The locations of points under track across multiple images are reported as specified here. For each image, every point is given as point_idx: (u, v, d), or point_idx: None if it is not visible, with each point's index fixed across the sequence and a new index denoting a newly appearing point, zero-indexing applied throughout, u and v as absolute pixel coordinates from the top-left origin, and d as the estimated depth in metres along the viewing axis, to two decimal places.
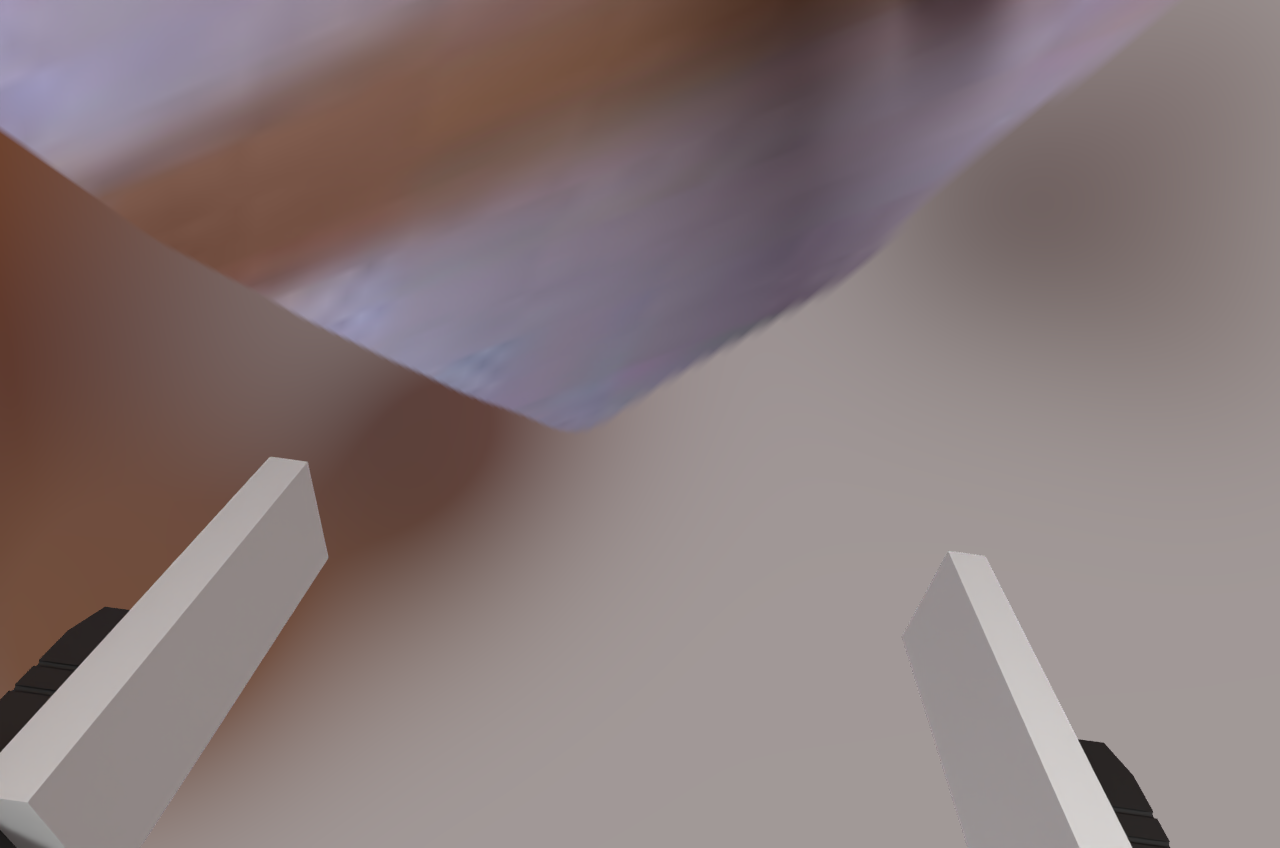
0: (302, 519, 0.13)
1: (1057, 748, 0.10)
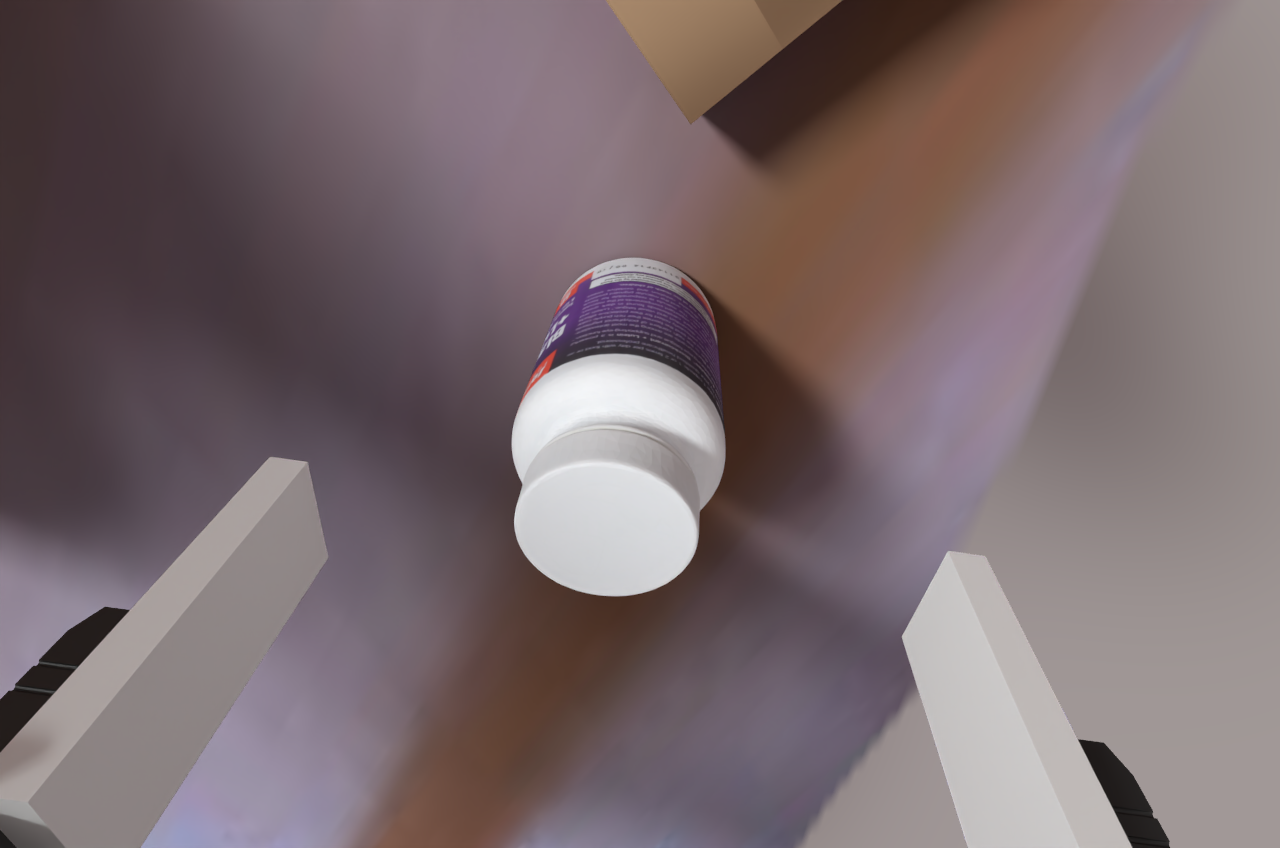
0: (302, 519, 0.13)
1: (1058, 748, 0.10)
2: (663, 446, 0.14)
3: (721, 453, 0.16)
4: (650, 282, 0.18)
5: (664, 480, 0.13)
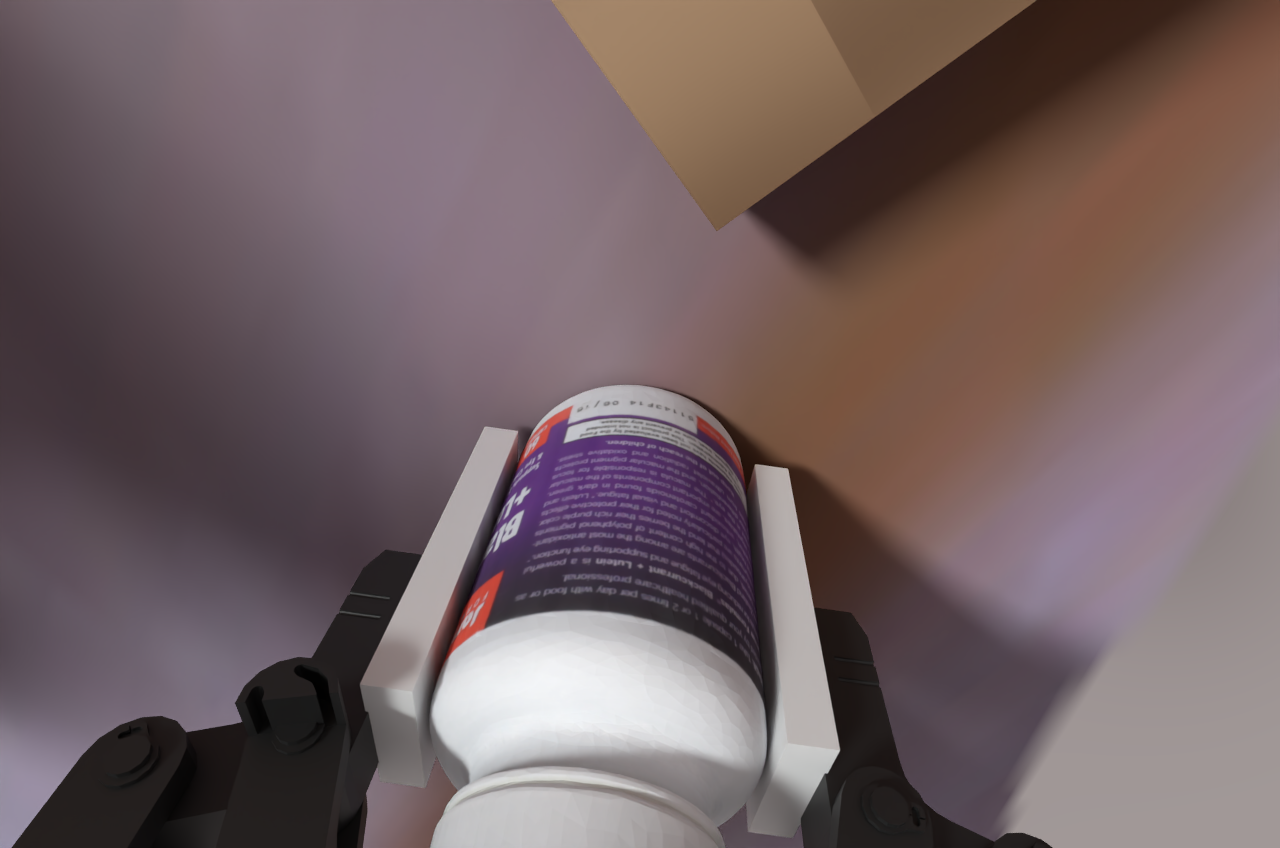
0: None
1: (791, 607, 0.11)
2: (668, 812, 0.08)
3: (761, 759, 0.10)
4: (652, 437, 0.13)
5: None
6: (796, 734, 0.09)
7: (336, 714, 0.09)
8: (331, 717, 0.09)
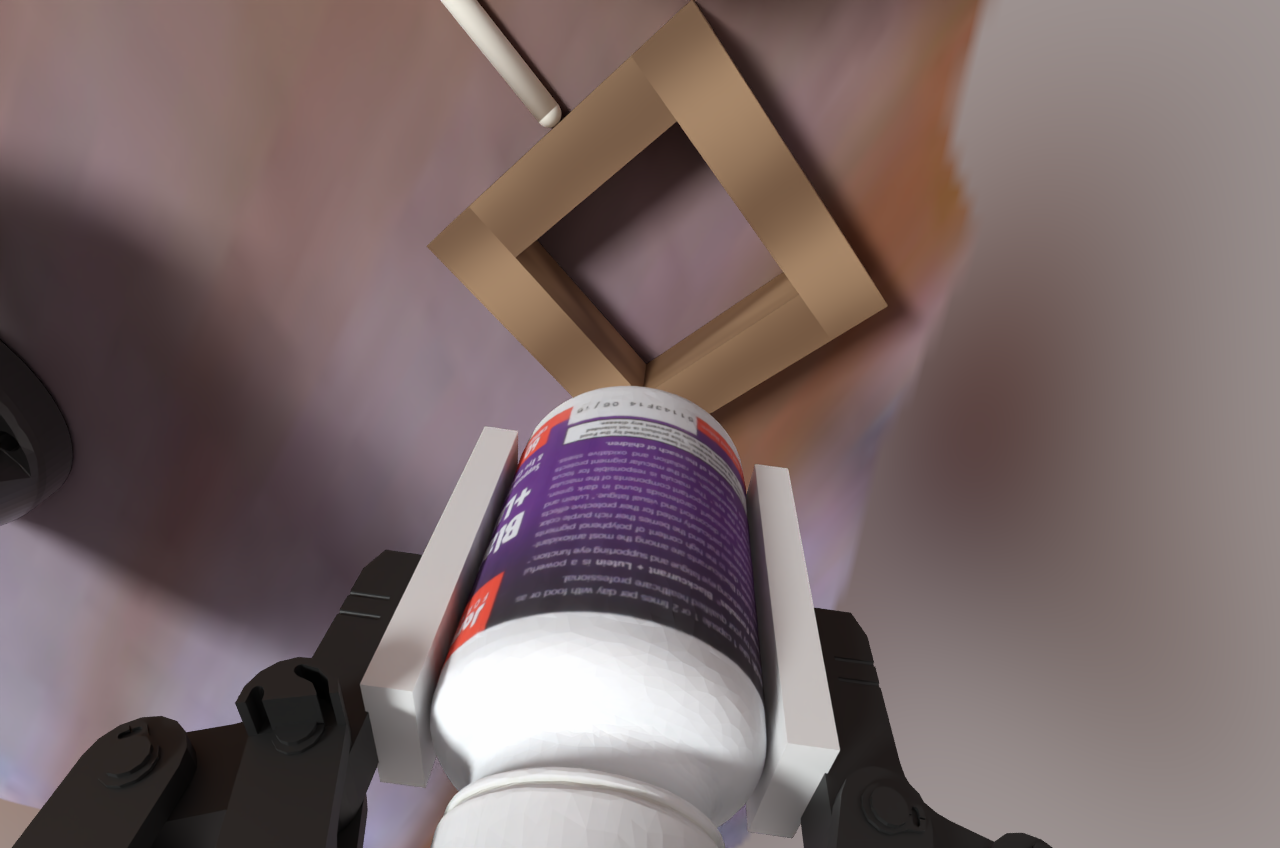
0: None
1: (791, 607, 0.11)
2: (667, 813, 0.08)
3: (760, 759, 0.10)
4: (652, 438, 0.13)
5: None
6: (796, 734, 0.09)
7: (336, 714, 0.09)
8: (331, 717, 0.09)
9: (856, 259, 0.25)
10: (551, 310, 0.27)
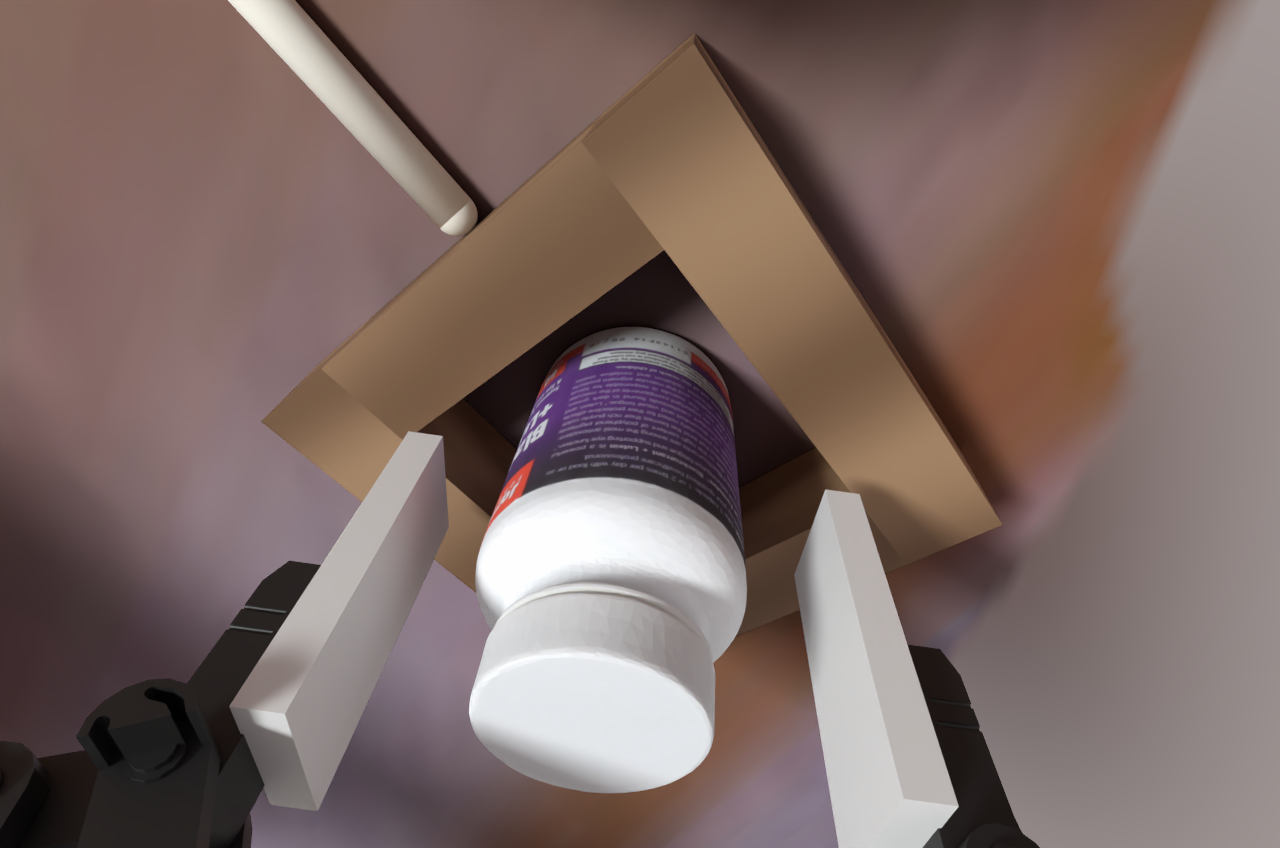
0: (437, 489, 0.14)
1: (885, 646, 0.11)
2: (668, 614, 0.10)
3: (741, 601, 0.12)
4: (653, 364, 0.15)
5: (669, 674, 0.10)
6: (911, 789, 0.09)
7: (198, 733, 0.08)
8: (194, 737, 0.08)
9: (959, 461, 0.15)
10: (467, 512, 0.17)
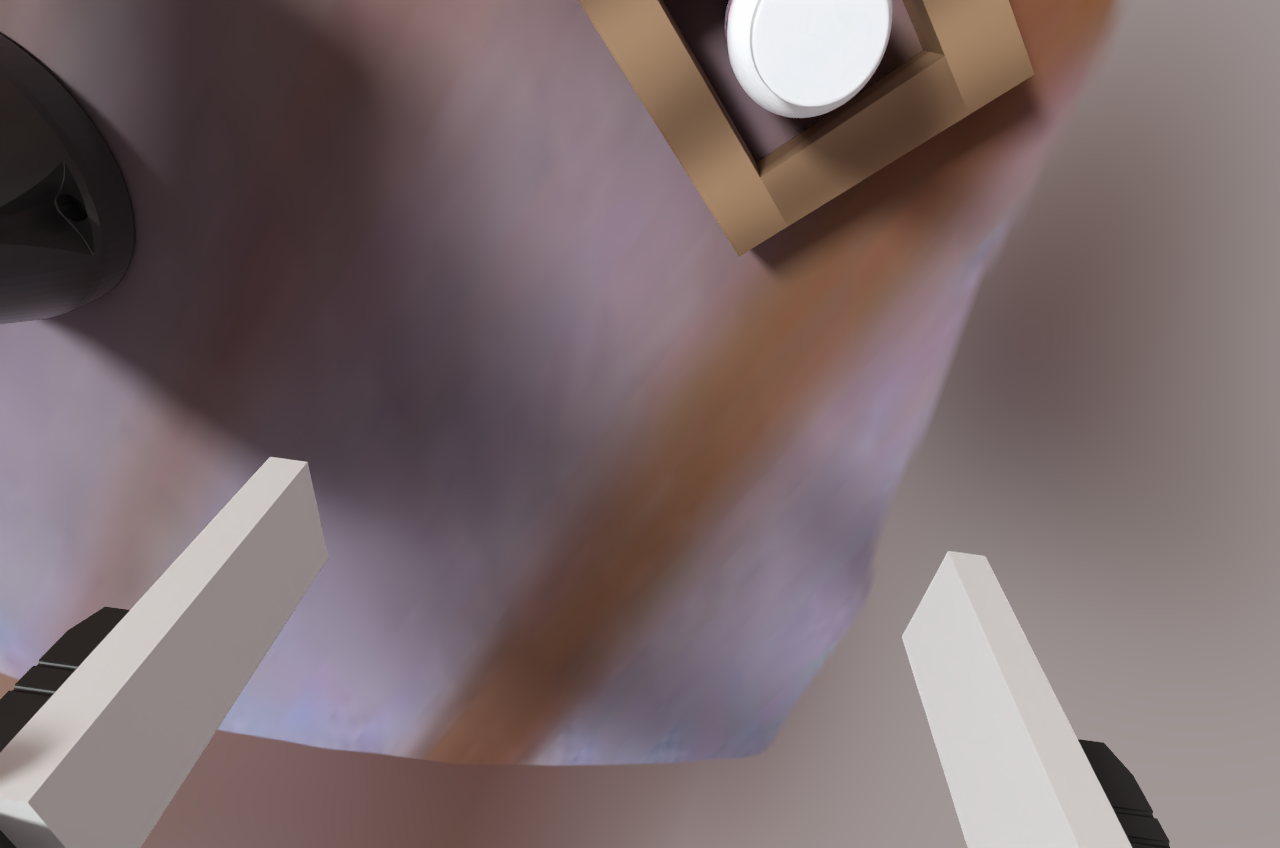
0: (302, 519, 0.13)
1: (1058, 748, 0.10)
2: None
3: (890, 21, 0.21)
4: None
5: None
6: None
7: None
8: None
9: (1011, 14, 0.24)
10: (682, 64, 0.26)
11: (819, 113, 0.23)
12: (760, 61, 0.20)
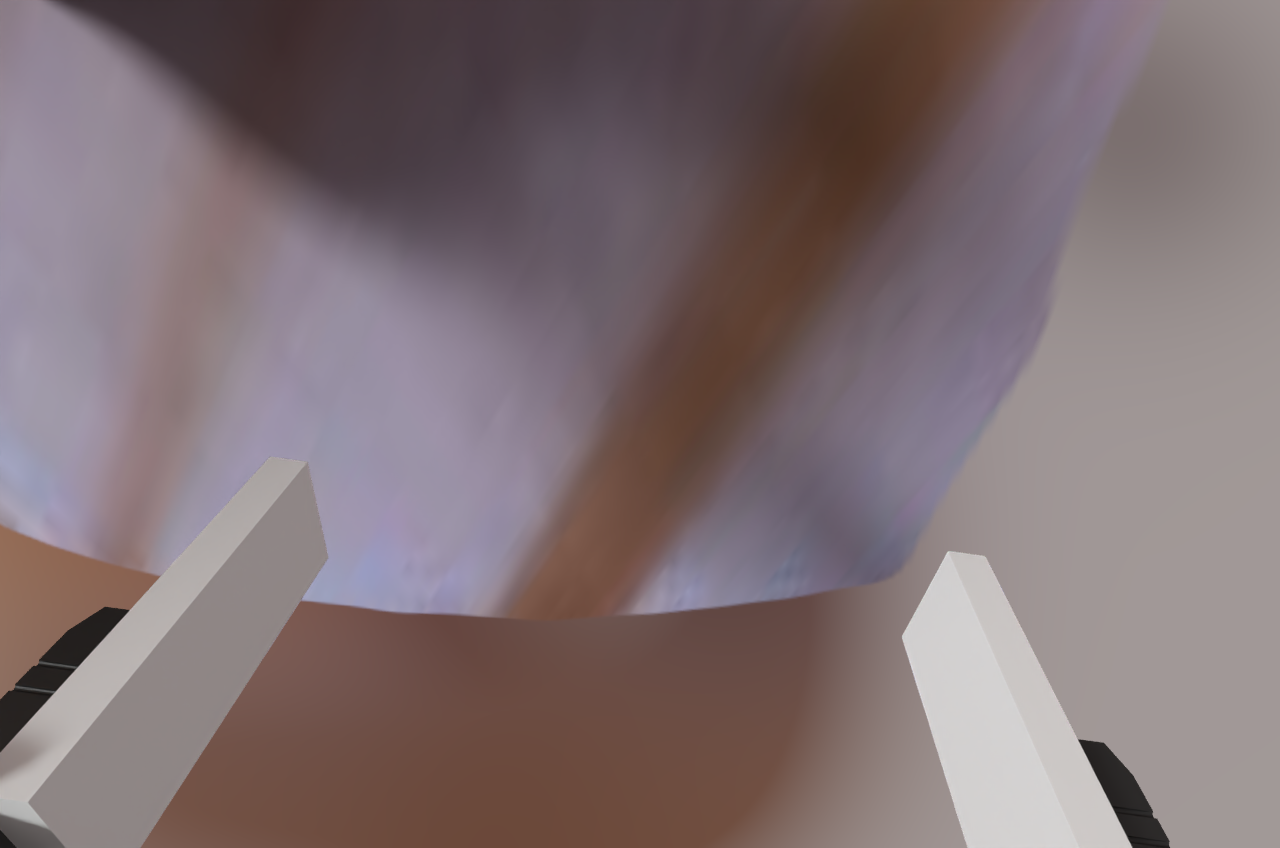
0: (302, 519, 0.13)
1: (1057, 748, 0.10)
2: None
3: None
4: None
5: None
6: None
7: None
8: None
9: None
10: None
11: None
12: None
